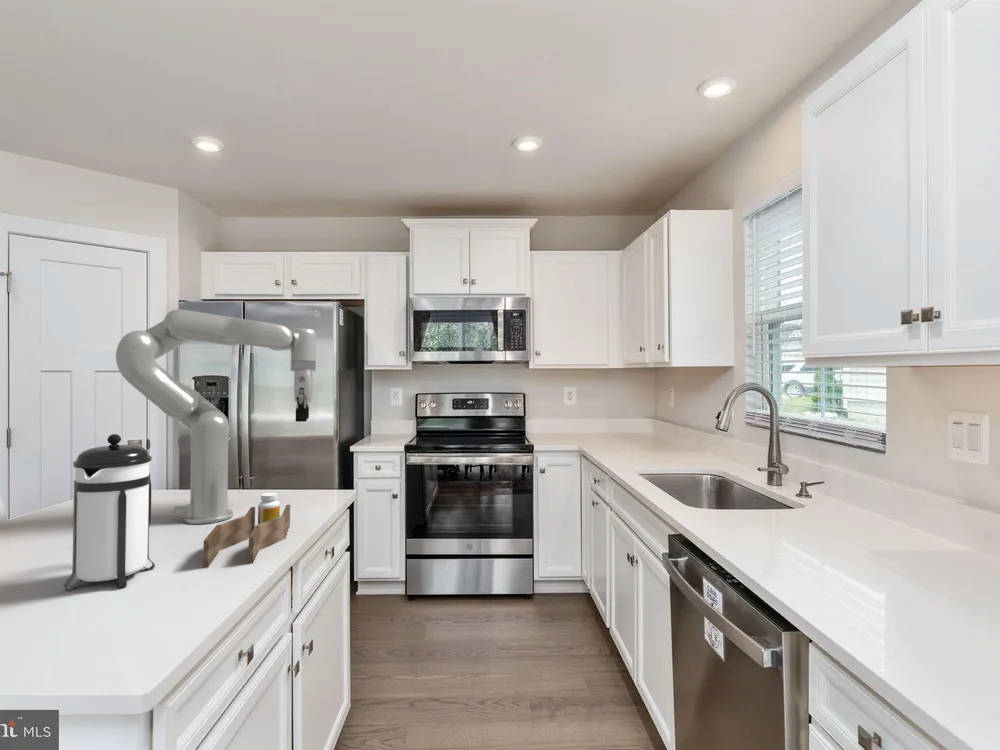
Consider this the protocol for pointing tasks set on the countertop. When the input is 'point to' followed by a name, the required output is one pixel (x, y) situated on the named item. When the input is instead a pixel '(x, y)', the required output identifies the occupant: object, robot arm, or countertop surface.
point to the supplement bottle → (268, 507)
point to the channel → (246, 534)
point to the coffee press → (111, 513)
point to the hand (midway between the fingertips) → (302, 420)
